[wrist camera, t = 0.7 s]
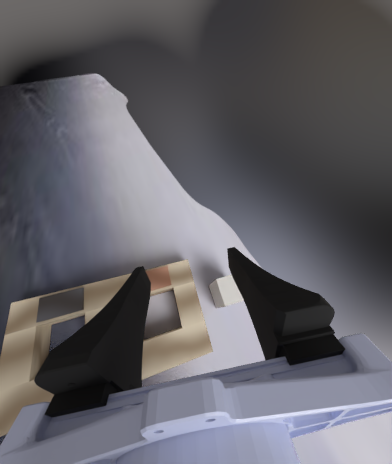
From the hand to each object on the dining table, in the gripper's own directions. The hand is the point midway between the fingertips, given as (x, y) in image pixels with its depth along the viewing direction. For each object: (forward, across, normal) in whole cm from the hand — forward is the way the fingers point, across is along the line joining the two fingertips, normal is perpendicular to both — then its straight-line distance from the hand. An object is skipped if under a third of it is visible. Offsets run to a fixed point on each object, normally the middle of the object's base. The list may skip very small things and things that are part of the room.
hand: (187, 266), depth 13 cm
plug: (+9, -4, +16) cm, 19 cm away
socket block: (+5, +14, +14) cm, 20 cm away
